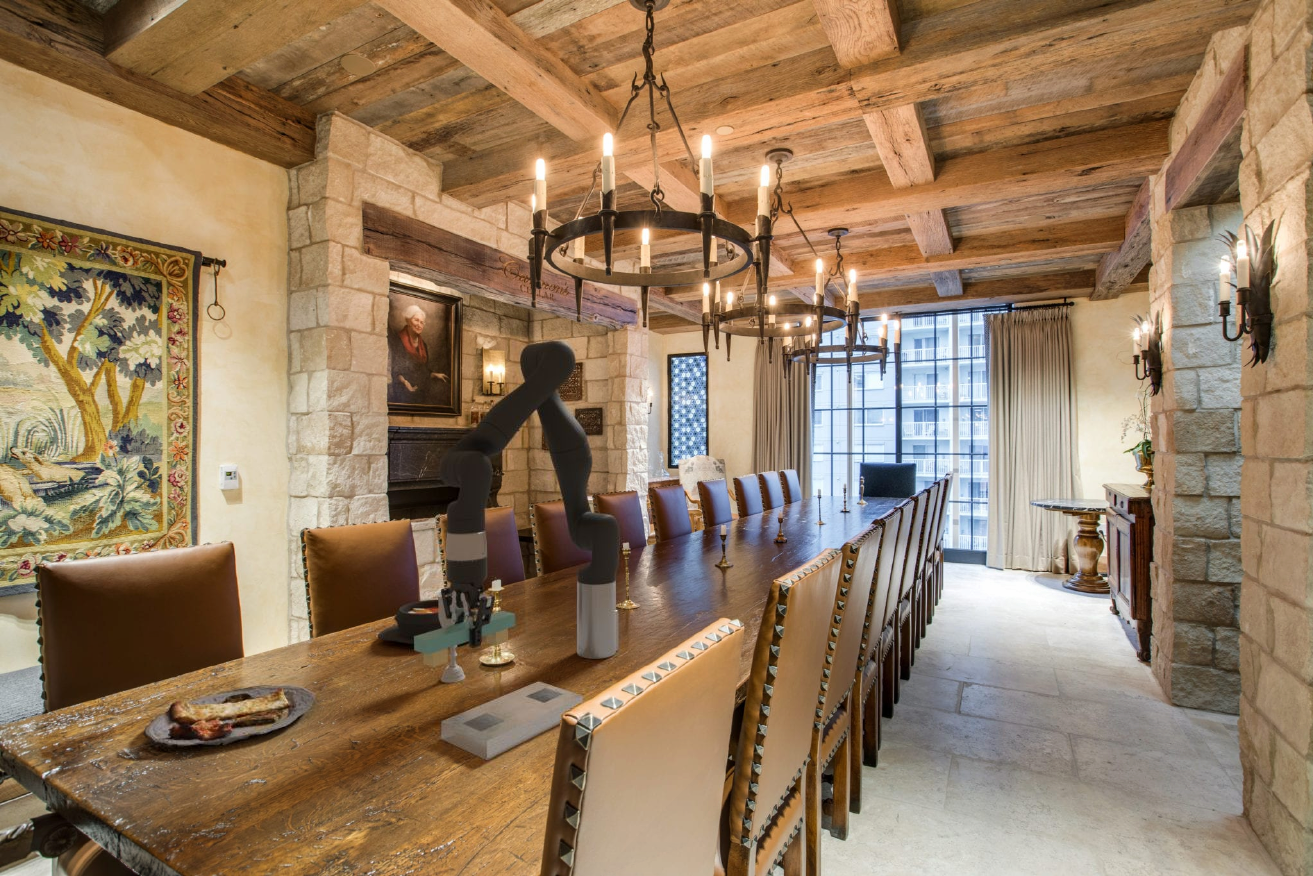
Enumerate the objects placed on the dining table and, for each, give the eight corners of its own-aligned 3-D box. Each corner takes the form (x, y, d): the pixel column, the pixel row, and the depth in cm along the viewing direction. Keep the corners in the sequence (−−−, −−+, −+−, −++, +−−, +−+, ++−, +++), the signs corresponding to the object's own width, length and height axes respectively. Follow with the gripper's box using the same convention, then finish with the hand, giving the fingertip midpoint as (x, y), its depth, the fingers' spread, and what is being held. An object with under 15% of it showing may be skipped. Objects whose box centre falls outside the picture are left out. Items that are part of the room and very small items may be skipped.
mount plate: (538, 696, 123) (538, 681, 123) (583, 712, 116) (583, 695, 116) (441, 739, 105) (441, 721, 105) (487, 760, 98) (487, 741, 98)
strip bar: (502, 636, 128) (502, 610, 128) (515, 639, 126) (515, 613, 126) (414, 665, 112) (414, 636, 112) (427, 670, 110) (427, 640, 110)
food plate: (126, 767, 96) (127, 744, 96) (162, 711, 117) (163, 692, 117) (311, 736, 107) (312, 716, 108) (314, 691, 128) (315, 673, 128)
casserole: (486, 627, 170) (486, 596, 170) (470, 649, 151) (470, 615, 151) (393, 629, 168) (393, 598, 168) (365, 652, 150) (365, 617, 150)
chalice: (458, 685, 128) (459, 598, 129) (429, 683, 130) (429, 596, 130) (476, 673, 136) (476, 590, 136) (447, 670, 137) (447, 588, 137)
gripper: (506, 555, 118) (507, 646, 118) (460, 548, 126) (461, 633, 126) (473, 562, 112) (474, 658, 112) (427, 554, 120) (428, 643, 120)
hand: (467, 644), depth 119 cm, fingers closed on strip bar, 4 cm apart
